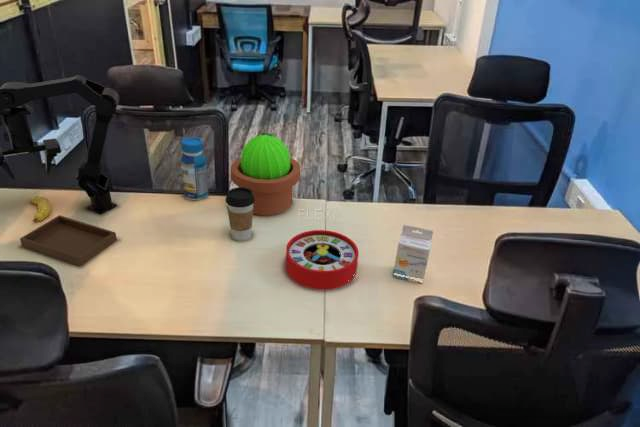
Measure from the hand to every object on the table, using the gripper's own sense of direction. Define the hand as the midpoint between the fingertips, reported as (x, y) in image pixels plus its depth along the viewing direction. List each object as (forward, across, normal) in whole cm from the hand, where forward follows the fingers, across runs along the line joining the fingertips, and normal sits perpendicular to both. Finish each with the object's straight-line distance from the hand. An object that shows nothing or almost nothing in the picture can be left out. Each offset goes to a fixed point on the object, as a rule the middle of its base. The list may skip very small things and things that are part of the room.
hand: (31, 176), depth 154 cm
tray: (+12, -5, +23) cm, 26 cm away
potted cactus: (+12, -65, +28) cm, 72 cm away
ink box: (+12, -82, +82) cm, 116 cm away
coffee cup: (+12, -50, +42) cm, 66 cm away
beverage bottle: (+12, -47, +12) cm, 50 cm away
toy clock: (+12, -62, +67) cm, 92 cm away
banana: (+12, 0, 0) cm, 12 cm away
